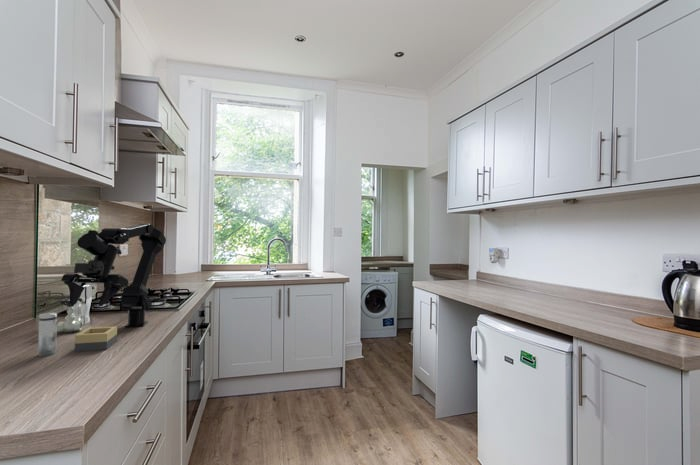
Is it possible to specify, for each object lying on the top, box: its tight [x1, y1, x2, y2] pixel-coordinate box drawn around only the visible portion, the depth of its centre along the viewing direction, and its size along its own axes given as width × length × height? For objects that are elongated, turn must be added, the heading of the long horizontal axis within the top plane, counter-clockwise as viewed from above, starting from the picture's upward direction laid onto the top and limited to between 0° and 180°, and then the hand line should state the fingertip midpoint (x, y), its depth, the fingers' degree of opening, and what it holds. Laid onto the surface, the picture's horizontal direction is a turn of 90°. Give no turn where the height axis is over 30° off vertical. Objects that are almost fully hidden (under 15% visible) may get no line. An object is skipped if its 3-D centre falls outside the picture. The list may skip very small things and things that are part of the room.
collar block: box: [74, 326, 118, 353], centre depth 108 cm, size 8×8×5 cm
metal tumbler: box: [37, 311, 58, 357], centre depth 100 cm, size 4×4×12 cm
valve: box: [57, 297, 84, 333], centre depth 123 cm, size 7×7×12 cm
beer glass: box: [72, 284, 93, 325], centre depth 135 cm, size 7×7×15 cm
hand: (85, 305), depth 107 cm, fingers open, 9 cm apart
